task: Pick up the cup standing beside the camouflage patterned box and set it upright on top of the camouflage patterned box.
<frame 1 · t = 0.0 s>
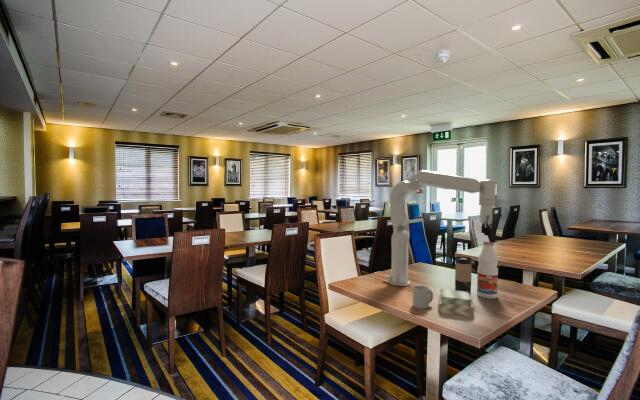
hand: (486, 234, 176), 31 cm above the table, tool pointing down, fingers open, 9 cm apart
camouflage patterned box: (455, 309, 150), on the table
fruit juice: (486, 296, 169), on the table
travel mug: (462, 296, 169), on the table
cup: (423, 306, 154), on the table
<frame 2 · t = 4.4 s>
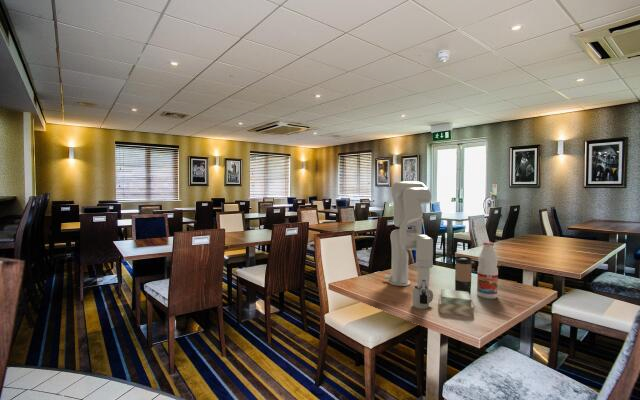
hand: (423, 300, 153), 3 cm above the table, tool pointing down, fingers closed on cup, 7 cm apart
cup: (423, 306, 154), on the table, touching gripper
everything else where it was.
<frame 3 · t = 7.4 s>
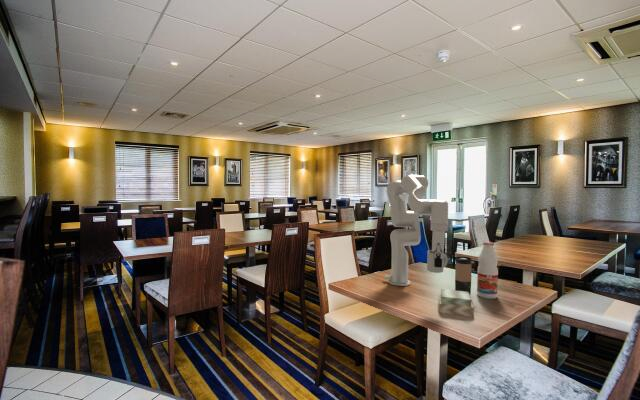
hand: (438, 264, 151), 20 cm above the table, tool pointing down, fingers closed on cup, 7 cm apart
cup: (437, 271, 152), point 17 cm above the table, touching gripper
everything else where it was.
when the fingers open (11 cm above the table, at t = 10.2 s): cup stays where it is, resting on camouflage patterned box.
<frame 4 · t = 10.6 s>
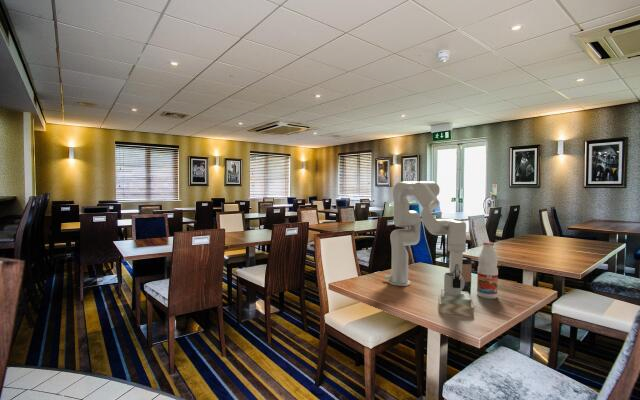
hand: (455, 284, 150), 11 cm above the table, tool pointing down, fingers open, 9 cm apart
cup: (454, 294, 151), point 7 cm above the table, touching camouflage patterned box
everything else where it was.
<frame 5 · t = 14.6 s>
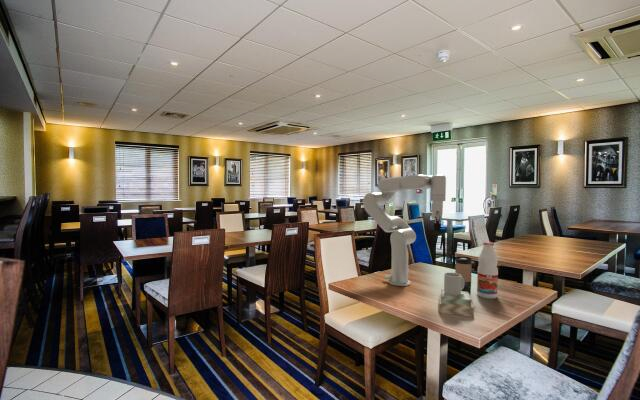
hand: (437, 230, 174), 33 cm above the table, tool pointing down, fingers open, 9 cm apart
nothing on the table moved.
at the end: cup inside the target area on the camouflage patterned box (0.7 cm from its centre), point 6.8 cm above the camouflage patterned box's base; cup tilted 0°; cup touching camouflage patterned box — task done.
